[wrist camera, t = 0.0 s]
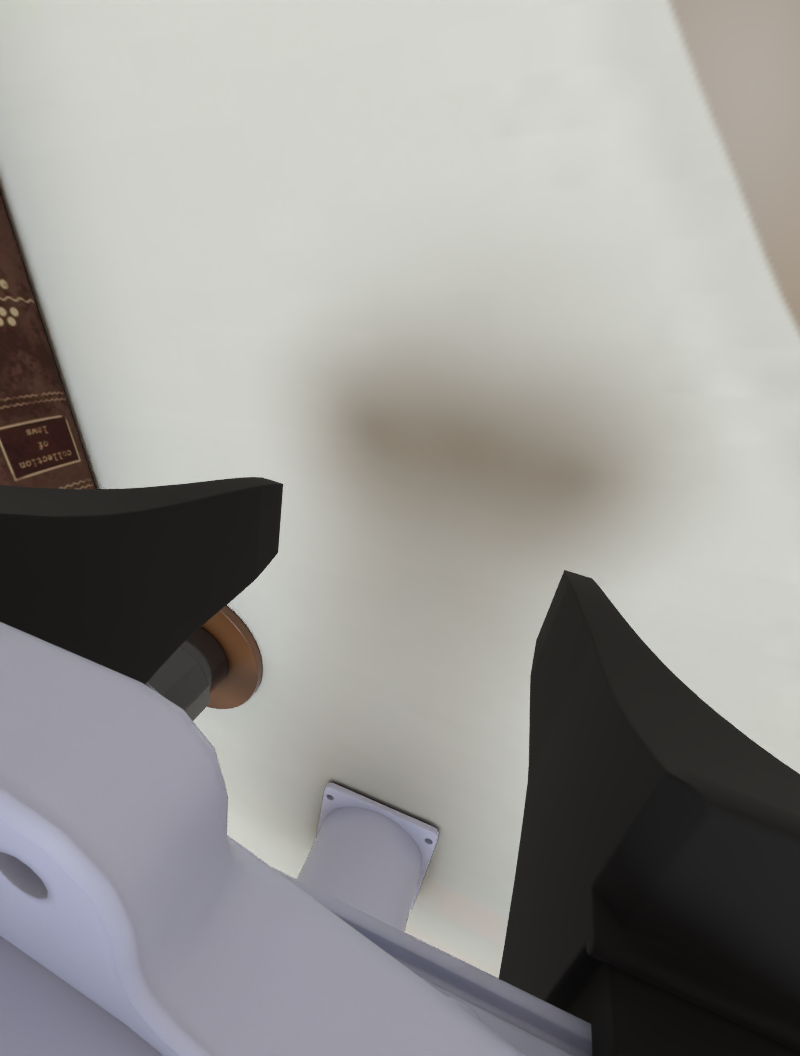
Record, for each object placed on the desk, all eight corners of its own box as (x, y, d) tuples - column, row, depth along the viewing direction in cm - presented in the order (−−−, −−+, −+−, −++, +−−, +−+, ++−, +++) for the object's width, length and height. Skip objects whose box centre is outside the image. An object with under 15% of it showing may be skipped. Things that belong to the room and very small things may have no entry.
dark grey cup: (232, 701, 31) (177, 763, 26) (143, 664, 32) (78, 717, 28) (234, 634, 28) (174, 691, 24) (138, 597, 30) (65, 645, 25)
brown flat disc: (259, 721, 32) (254, 728, 31) (149, 674, 33) (142, 680, 33) (266, 615, 28) (260, 621, 27) (140, 569, 29) (133, 573, 29)
